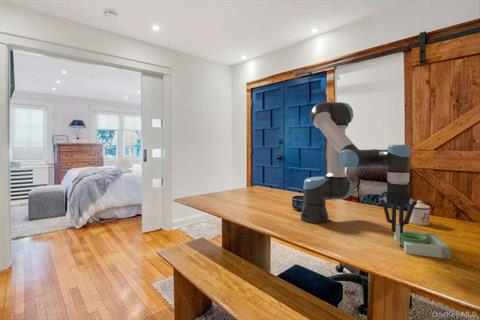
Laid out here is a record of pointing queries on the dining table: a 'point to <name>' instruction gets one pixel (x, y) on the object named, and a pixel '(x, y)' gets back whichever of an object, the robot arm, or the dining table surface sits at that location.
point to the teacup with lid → (420, 214)
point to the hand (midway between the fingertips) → (397, 240)
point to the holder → (428, 246)
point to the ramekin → (411, 238)
